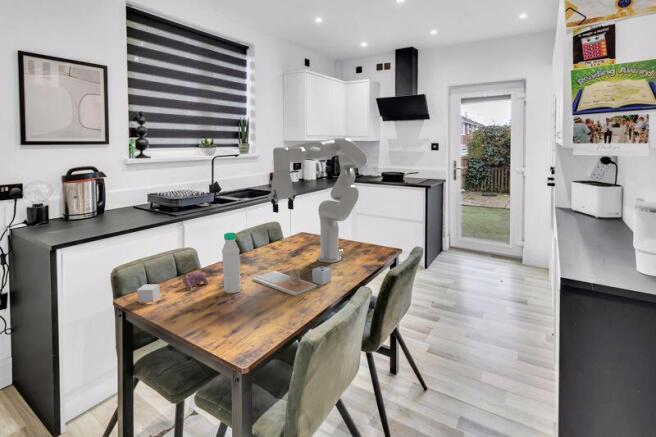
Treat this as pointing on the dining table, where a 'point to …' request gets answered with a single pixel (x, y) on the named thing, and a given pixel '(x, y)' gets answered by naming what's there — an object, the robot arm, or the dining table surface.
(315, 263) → the dining table surface
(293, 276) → the pawn
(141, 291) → the light grey cube
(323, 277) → the die
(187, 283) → the video game controller
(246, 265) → the dining table surface
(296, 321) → the dining table surface
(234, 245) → the water bottle
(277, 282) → the board
